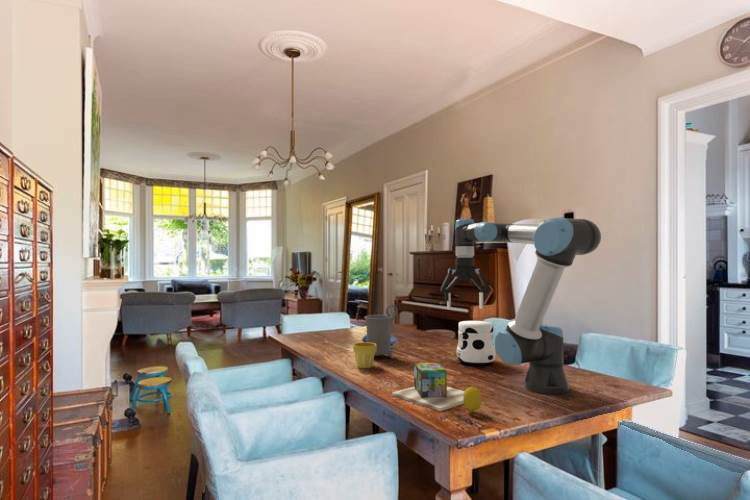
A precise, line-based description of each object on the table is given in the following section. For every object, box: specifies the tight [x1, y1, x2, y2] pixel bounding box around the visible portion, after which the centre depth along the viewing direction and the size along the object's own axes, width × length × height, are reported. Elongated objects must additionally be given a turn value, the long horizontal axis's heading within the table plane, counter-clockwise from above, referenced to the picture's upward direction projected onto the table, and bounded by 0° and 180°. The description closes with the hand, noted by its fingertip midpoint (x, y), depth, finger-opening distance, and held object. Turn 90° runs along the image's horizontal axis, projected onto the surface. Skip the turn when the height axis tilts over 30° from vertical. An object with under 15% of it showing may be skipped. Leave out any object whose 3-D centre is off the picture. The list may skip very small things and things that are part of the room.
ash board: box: [391, 386, 465, 412], centre depth 157 cm, size 22×20×1 cm
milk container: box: [456, 320, 497, 366], centre depth 208 cm, size 17×17×18 cm
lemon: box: [463, 385, 483, 413], centre depth 141 cm, size 6×6×8 cm
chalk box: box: [413, 362, 448, 398], centre depth 157 cm, size 9×9×15 cm
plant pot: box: [352, 341, 377, 369], centre depth 201 cm, size 10×10×10 cm
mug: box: [363, 304, 398, 360], centre depth 221 cm, size 19×15×25 cm
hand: (465, 308), depth 187 cm, fingers open, 13 cm apart
